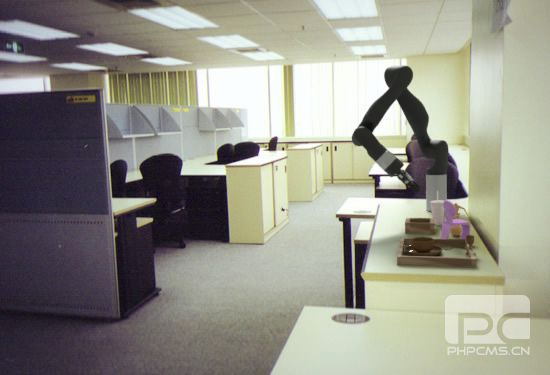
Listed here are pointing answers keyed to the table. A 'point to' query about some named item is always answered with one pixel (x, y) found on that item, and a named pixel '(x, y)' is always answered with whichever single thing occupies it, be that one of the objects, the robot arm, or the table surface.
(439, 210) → the smoothie
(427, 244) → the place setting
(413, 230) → the holder
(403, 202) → the table surface
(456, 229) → the figurine
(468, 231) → the toy chair
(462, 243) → the tray rim
